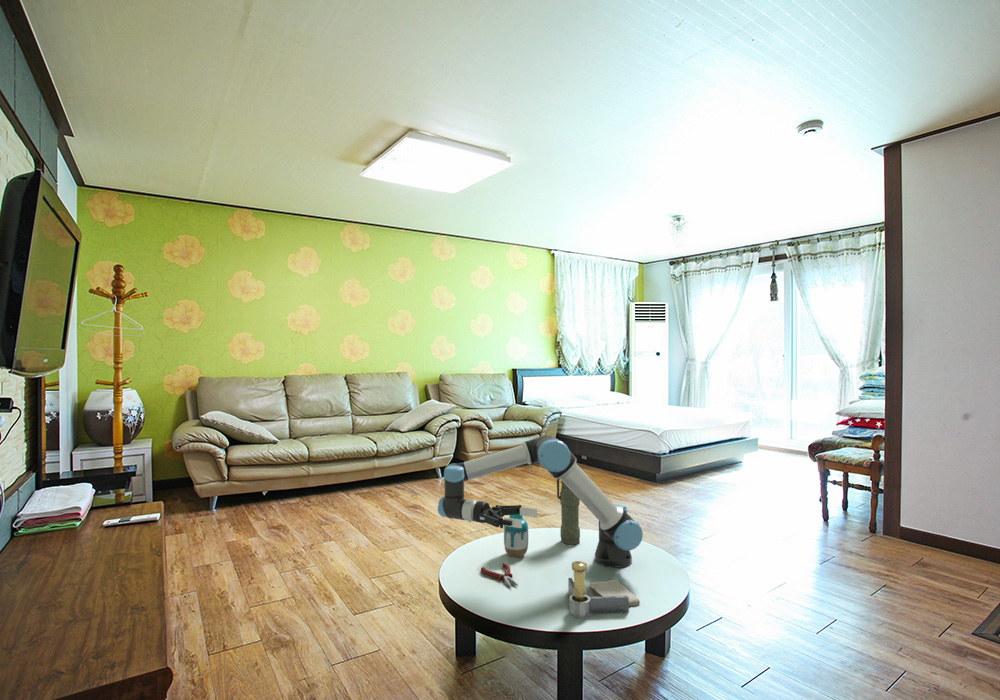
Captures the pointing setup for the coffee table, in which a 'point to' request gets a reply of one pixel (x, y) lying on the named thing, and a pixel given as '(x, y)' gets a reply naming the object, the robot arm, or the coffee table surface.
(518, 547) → the vase
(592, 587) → the washcloth
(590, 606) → the hinge
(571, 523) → the thermos
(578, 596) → the hinge pin
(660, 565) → the coffee table surface
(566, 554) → the coffee table surface
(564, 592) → the coffee table surface
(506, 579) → the pliers
